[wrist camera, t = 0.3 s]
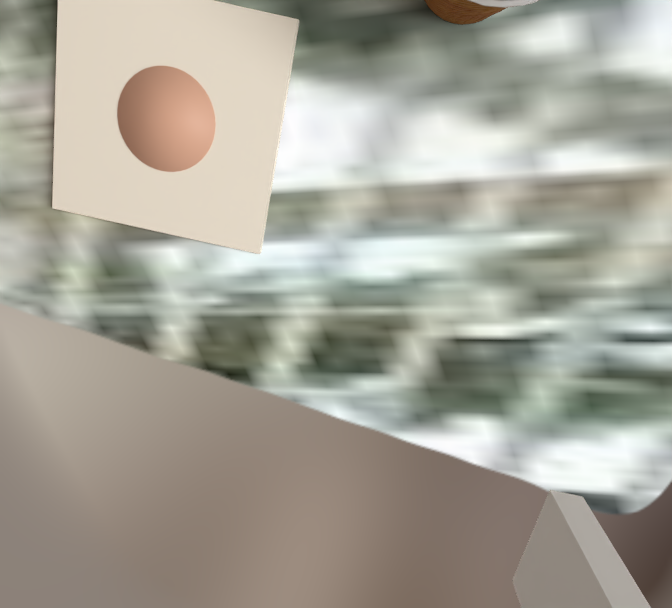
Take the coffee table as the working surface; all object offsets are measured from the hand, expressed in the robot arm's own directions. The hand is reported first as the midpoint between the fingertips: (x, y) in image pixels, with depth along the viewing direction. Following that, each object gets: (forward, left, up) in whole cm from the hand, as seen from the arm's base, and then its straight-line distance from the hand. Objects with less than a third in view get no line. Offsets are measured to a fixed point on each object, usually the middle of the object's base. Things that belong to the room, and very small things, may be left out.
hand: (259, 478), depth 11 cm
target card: (-7, -13, -27) cm, 31 cm away
